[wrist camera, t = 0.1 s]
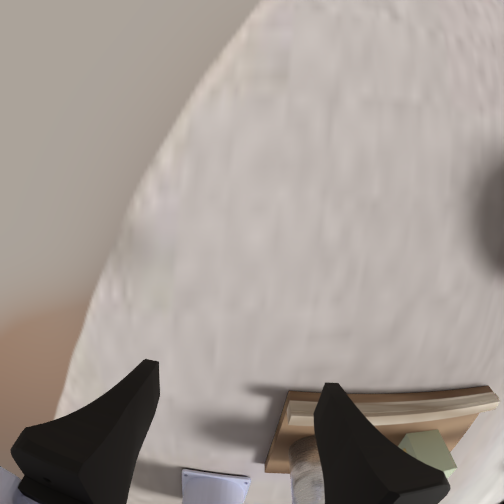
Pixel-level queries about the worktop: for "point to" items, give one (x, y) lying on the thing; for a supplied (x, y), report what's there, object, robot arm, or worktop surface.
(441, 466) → the tea box
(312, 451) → the metal can
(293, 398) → the shelf board
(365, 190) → the worktop surface
